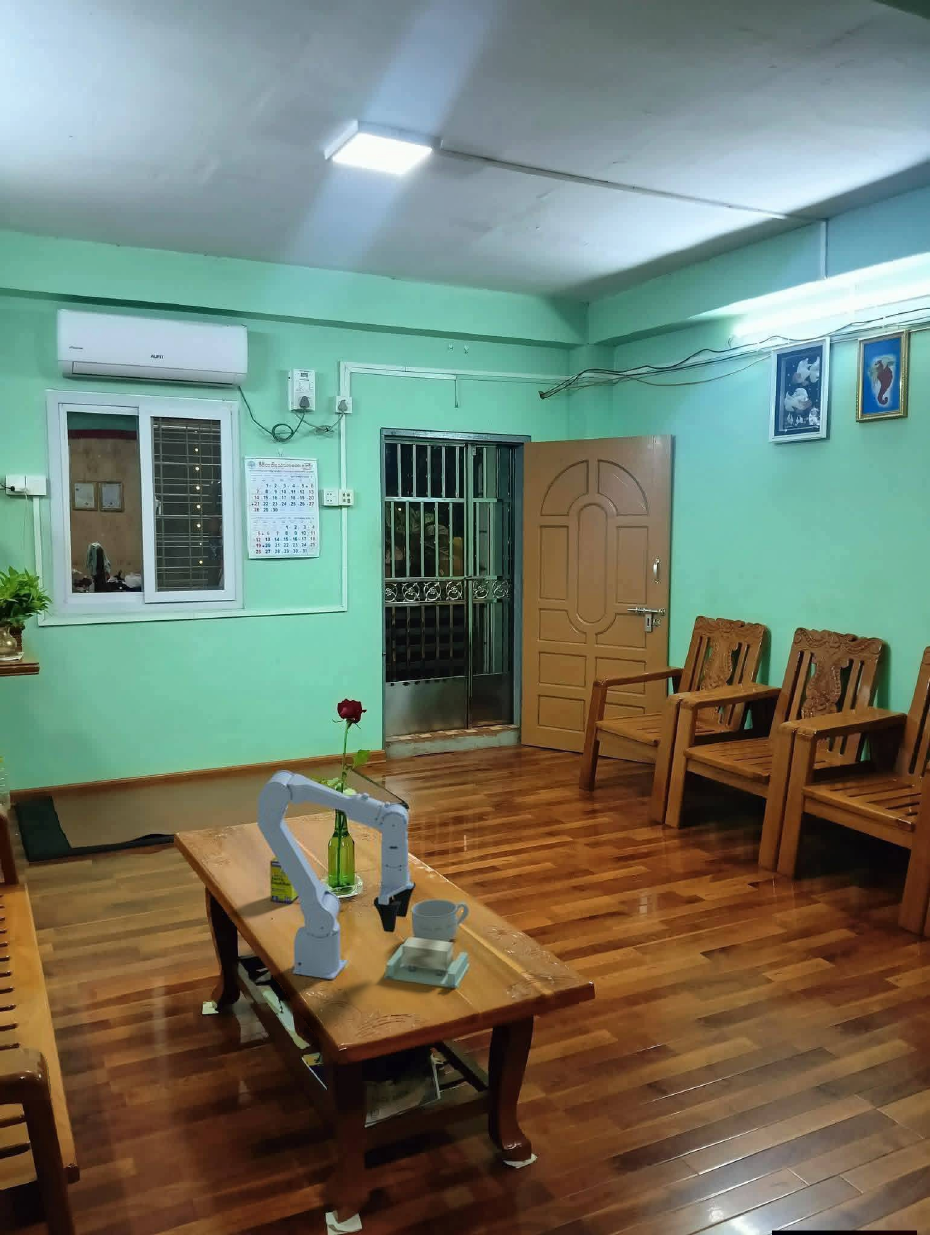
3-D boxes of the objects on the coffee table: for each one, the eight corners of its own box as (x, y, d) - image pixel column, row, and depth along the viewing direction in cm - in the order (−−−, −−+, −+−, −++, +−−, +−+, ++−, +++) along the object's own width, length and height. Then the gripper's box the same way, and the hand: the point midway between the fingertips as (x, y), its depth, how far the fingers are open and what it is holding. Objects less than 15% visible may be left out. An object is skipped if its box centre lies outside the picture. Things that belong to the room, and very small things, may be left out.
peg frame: (384, 977, 198) (384, 964, 198) (400, 956, 208) (400, 943, 208) (456, 988, 194) (456, 974, 194) (469, 966, 204) (469, 953, 203)
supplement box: (270, 902, 238) (269, 860, 236) (280, 892, 243) (279, 852, 242) (292, 904, 236) (291, 862, 235) (301, 895, 242) (300, 854, 241)
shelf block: (402, 964, 200) (402, 945, 200) (409, 955, 204) (409, 936, 204) (447, 970, 197) (447, 951, 197) (453, 961, 202) (453, 942, 201)
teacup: (416, 953, 210) (416, 919, 209) (406, 932, 220) (406, 899, 219) (476, 945, 214) (476, 912, 213) (463, 925, 224) (463, 893, 223)
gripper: (400, 876, 191) (401, 940, 193) (423, 852, 205) (423, 912, 207) (368, 873, 193) (369, 936, 195) (393, 849, 207) (393, 908, 209)
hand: (395, 923), depth 201 cm, fingers open, 7 cm apart
